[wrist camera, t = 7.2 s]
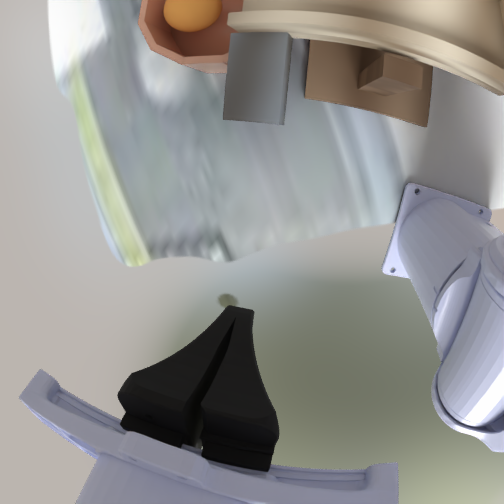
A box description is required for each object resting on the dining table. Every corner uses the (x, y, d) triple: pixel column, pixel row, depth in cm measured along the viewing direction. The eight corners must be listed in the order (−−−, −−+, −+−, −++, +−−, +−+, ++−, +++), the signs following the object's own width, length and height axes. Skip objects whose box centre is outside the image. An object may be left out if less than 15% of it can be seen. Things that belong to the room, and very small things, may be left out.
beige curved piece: (490, 16, 6) (524, -9, 1) (482, 177, 12) (524, 202, 7) (263, -32, 10) (228, -71, 5) (247, 119, 16) (203, 120, 11)
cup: (301, -29, 11) (298, -57, 7) (292, 77, 16) (288, 65, 12) (178, -23, 12) (152, -42, 9) (163, 75, 17) (132, 70, 13)
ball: (208, -29, 9) (156, -16, 10) (200, 19, 11) (148, 30, 12) (233, -8, 12) (186, -1, 13) (228, 35, 14) (180, 40, 15)
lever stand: (425, -11, 9) (463, -45, 3) (421, 126, 16) (474, 136, 9) (315, -40, 10) (314, -92, 4) (304, 98, 17) (303, 86, 10)
